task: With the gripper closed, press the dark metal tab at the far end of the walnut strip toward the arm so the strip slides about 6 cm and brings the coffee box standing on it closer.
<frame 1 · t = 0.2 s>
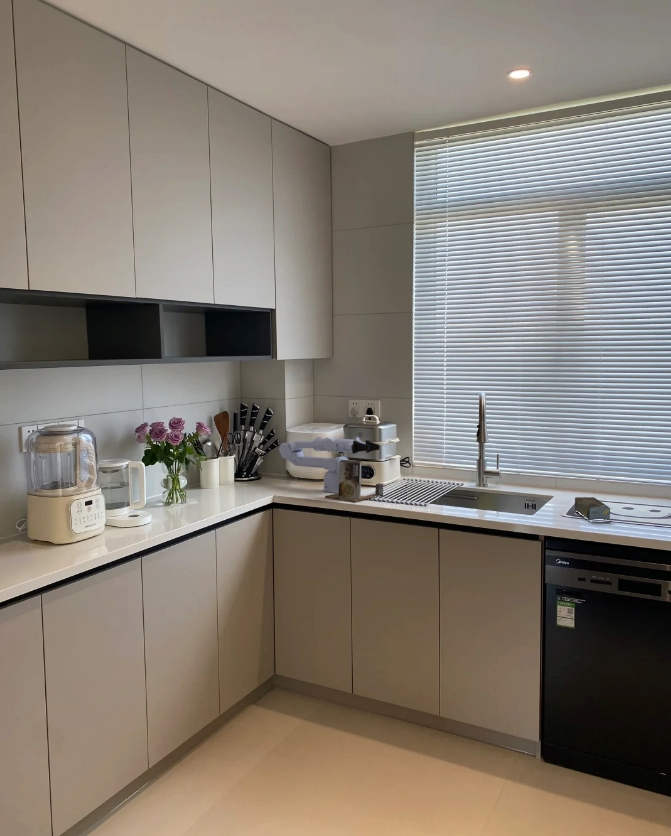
hand: (374, 447, 301), 21 cm above the worktop, tool horizontal, fingers open, 7 cm apart
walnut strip: (354, 490, 302), point 3 cm above the worktop, slide at 5.0 cm, touching coffee box
coffee box: (349, 499, 298), resting on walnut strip
beverage carton: (591, 518, 268), on the worktop
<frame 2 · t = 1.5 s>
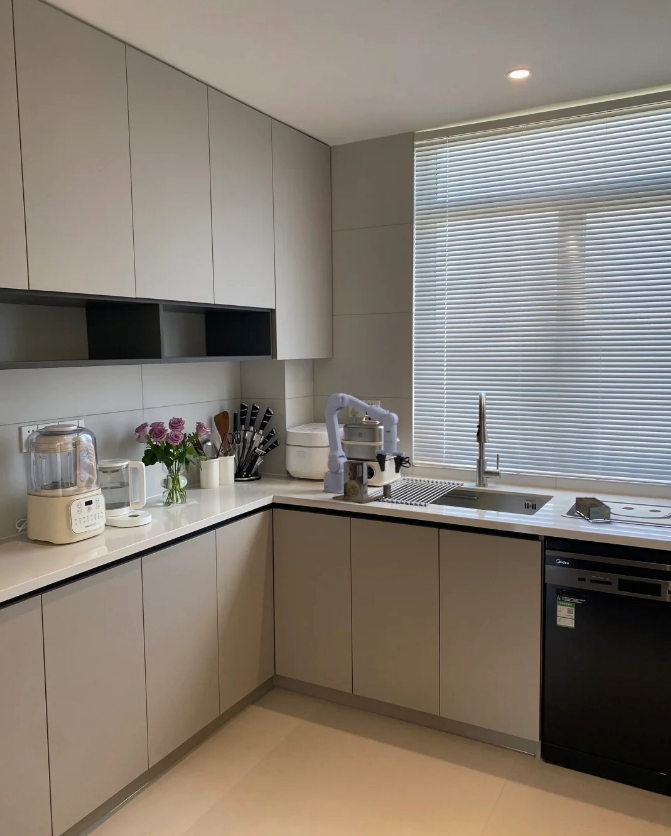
hand: (390, 472, 303), 11 cm above the worktop, tool pointing down, fingers open, 7 cm apart
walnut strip: (362, 491, 300), point 3 cm above the worktop, slide at 1.2 cm, touching coffee box
coffee box: (355, 500, 296), resting on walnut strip
everything else where it was.
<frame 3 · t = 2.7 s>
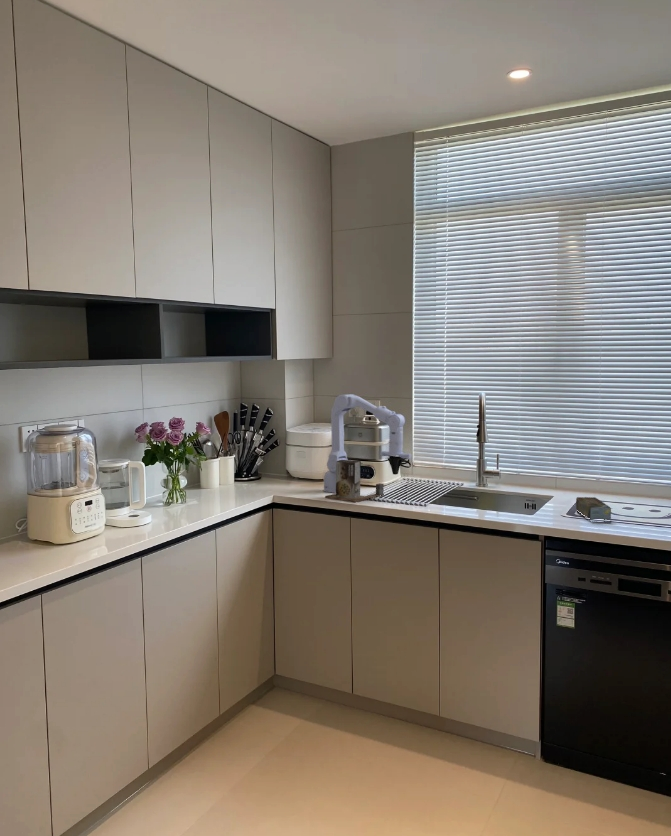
hand: (395, 474, 299), 10 cm above the worktop, tool pointing down, fingers closed
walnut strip: (355, 490, 302), point 3 cm above the worktop, slide at 4.9 cm, touching coffee box
coffee box: (347, 498, 299), resting on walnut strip
everything else where it was.
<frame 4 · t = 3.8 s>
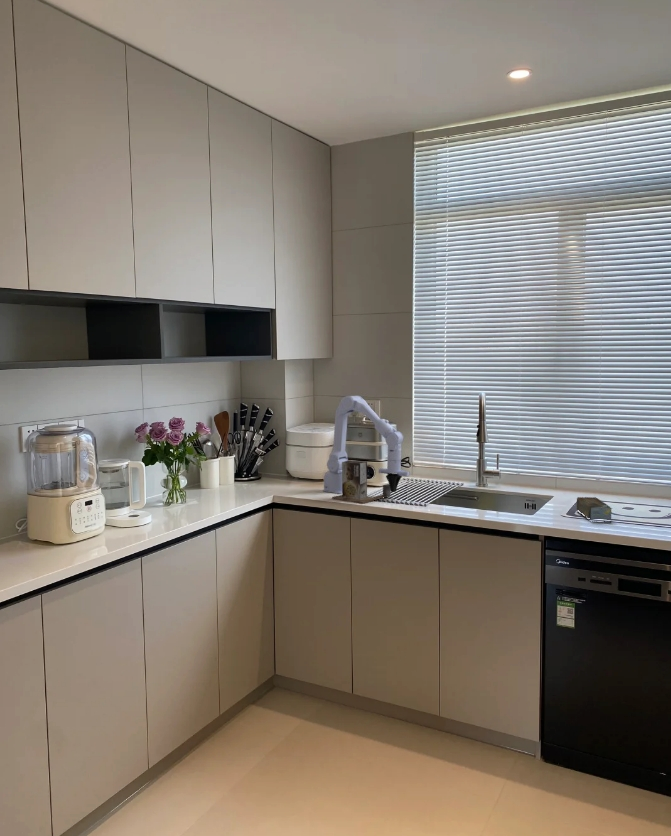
hand: (393, 491, 300), 3 cm above the worktop, tool pointing down, fingers closed
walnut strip: (362, 491, 300), point 3 cm above the worktop, slide at 1.3 cm, touching coffee box
coffee box: (354, 499, 297), resting on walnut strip
everything else where it was.
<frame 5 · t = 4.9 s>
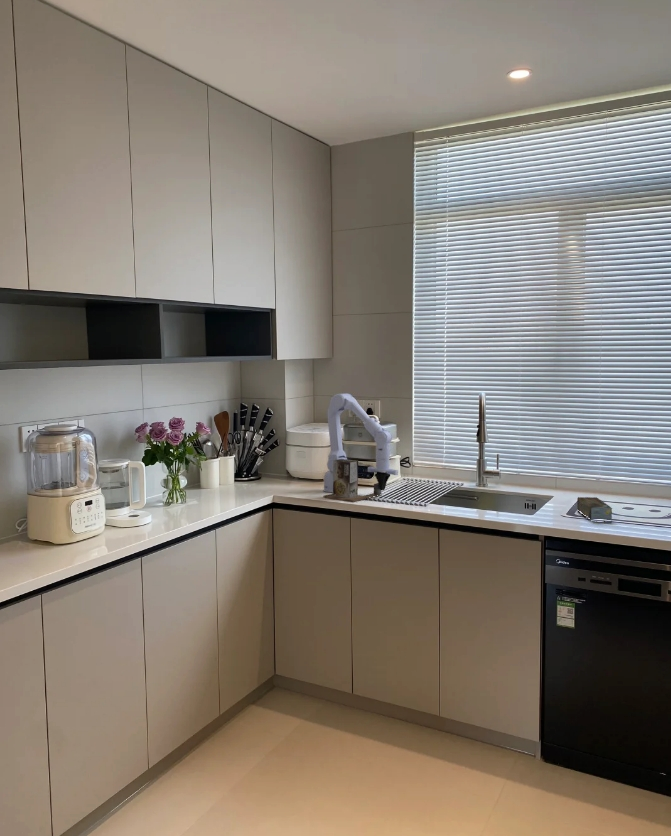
hand: (382, 489, 304), 3 cm above the worktop, tool pointing down, fingers closed
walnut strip: (353, 490, 303), point 3 cm above the worktop, slide at 6.0 cm, touching coffee box
coffee box: (345, 498, 300), resting on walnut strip
everything else where it was.
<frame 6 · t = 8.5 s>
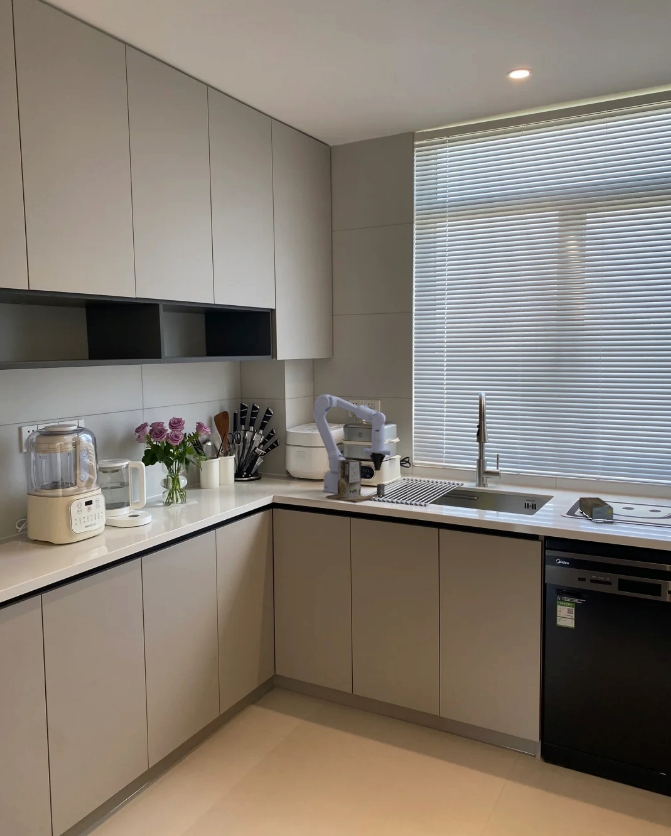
hand: (377, 470, 310), 10 cm above the worktop, tool pointing down, fingers closed
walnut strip: (356, 490, 302), point 3 cm above the worktop, slide at 4.5 cm, touching coffee box
coffee box: (349, 498, 299), resting on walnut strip
at the end: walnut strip slide at 5.0 cm; coffee box inside the target area (1.1 cm from its centre), resting on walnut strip; coffee box tilted 2° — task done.
